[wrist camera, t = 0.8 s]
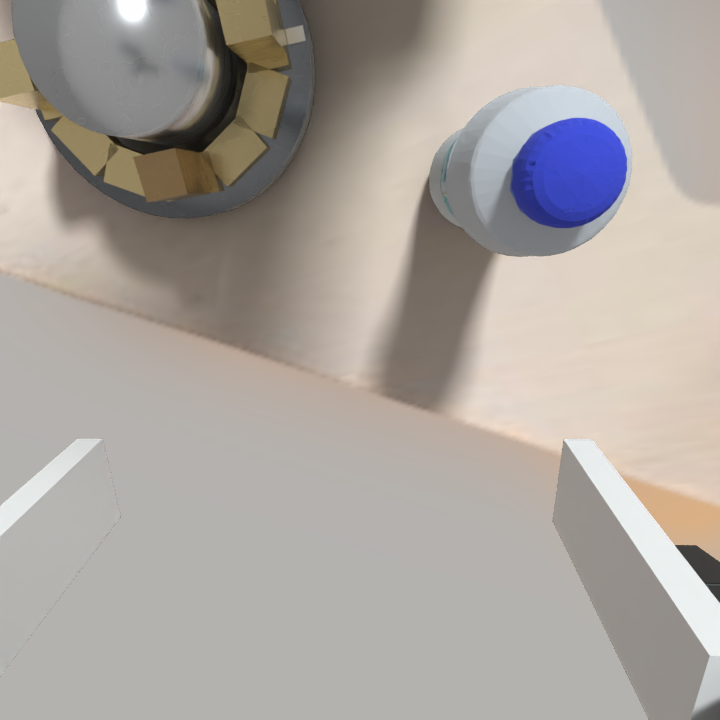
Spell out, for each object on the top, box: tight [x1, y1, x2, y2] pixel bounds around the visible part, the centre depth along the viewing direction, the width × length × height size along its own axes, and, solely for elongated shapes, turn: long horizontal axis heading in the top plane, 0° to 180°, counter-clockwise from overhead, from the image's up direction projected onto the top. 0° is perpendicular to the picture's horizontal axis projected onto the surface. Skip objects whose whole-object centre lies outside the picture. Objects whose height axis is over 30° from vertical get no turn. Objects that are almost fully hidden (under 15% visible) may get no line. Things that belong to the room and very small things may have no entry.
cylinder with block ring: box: [0, 0, 292, 202], centre depth 28 cm, size 15×15×5 cm
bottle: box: [429, 85, 632, 257], centre depth 25 cm, size 7×7×20 cm
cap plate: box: [12, 0, 315, 218], centre depth 28 cm, size 18×18×9 cm
